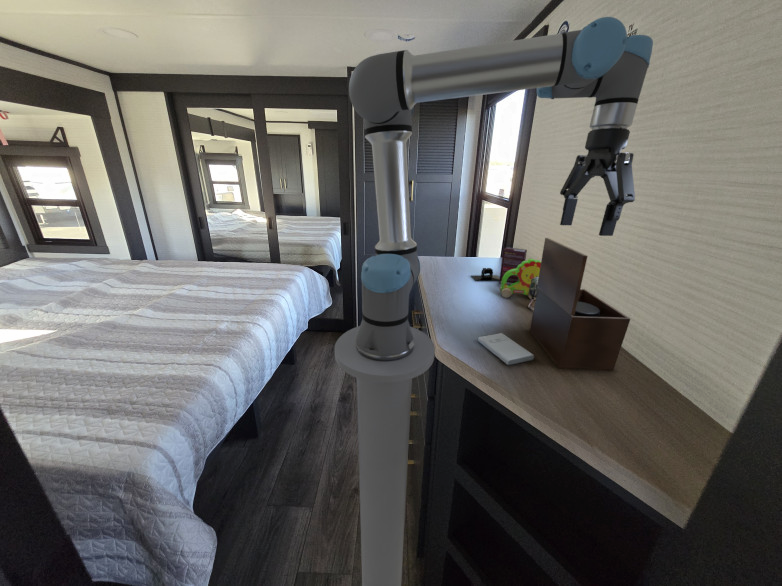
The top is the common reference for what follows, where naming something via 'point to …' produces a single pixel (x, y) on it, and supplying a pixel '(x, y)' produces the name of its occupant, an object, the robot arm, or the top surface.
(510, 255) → the supplement box
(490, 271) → the build plate
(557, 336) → the chest
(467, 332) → the top surface
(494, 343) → the hard drive
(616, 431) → the top surface
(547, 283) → the lid
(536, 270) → the toy lion
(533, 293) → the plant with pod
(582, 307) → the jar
